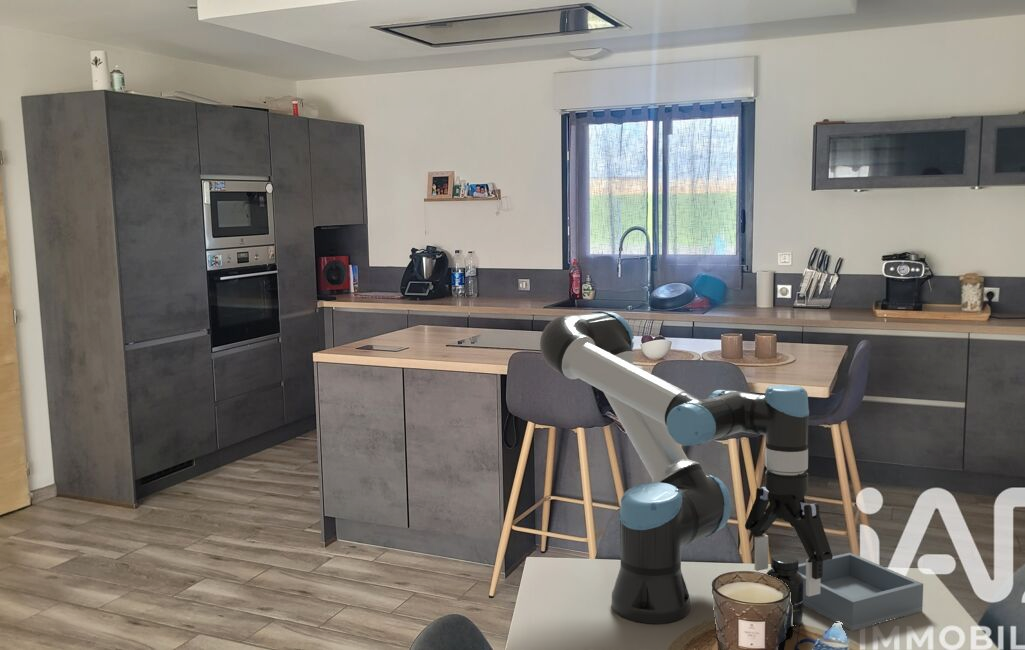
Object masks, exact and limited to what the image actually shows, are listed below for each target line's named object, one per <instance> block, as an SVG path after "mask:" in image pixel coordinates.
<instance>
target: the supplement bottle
mask: <svg viewBox="0 0 1025 650" xmlns="http://www.w3.org/2000/svg"><path fill="white" fill-rule="evenodd" d="M770 562H771V563H770V569H769V570H768V571H767V572H766V574H768V575H771V576H773V577H776V578H778V579H780V580H782V581H783V582H784V583H786V584H787V585H788V587H789V589H790V592H791V603H792V605H793V625H794V626H795V625H798V626H799V625H801V624H802V622H803V611H804V605H803V585H804V581H803V577H802V575H801V574H800V573H799V572H797V571H798V570H799V567H798V564H799V559H798V558H797V557H795V556H793V555H789V554H784V553H781V554H774V555H772V556H771V561H770Z"/></svg>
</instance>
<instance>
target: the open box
mask: <svg viewBox="0 0 1025 650" xmlns="http://www.w3.org/2000/svg"><path fill="white" fill-rule="evenodd" d="M832 556H833V558H832V559H830V560H826V561H823V576H822V578H820V594H817V595H813V596H807V595H806V562H802V563H798V567H799V570H798V571H797V572H799V573H800V574H801V575H802V577H803V581H804V585H803V607H804V606H805V607H806V608H808V609H810V610H811V611H814V612H816V613H817V614H819V615H821V616H823V617H825V618H828V620H831V621H832V622H834V623H836V622H835V621H840V622H842V623H843V626H842V627H843V628H845V629H848V630H850V631H852V632H854V631H857V630H861V628H862V629H864V627H865V628H869V627H872V626H874V625H873V624H875V623H879V622H883V621H886V620H890V619H894V618H897V619H899V618H898V617H901V618H903V617H902V616H904V617H907V616H906V615H908V616H911V614H912V615H915V614H919V613H922V612H923V604H924V603H923V602H924V601H923V600H924V599H923V598H924V583H922V582H921V581H920V582H919V581H918V580H915V579H913V578H911V577H909V576H906V575H903V574H901V573H899V572H896V571H894V570H893V569H890V568H887V567H885V566H882V565H880V564H877V563H875V562H873V561H870V560H868V559H866V558H864V557H861V556H859V555H856V554H854V553H852V552H847V553H841V554H838V555H832ZM894 620H895V619H894ZM890 621H891V620H890ZM883 623H884V622H883ZM879 624H880V623H879ZM871 625H872V626H871ZM868 626H869V627H868Z"/></svg>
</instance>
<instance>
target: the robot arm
mask: <svg viewBox="0 0 1025 650" xmlns="http://www.w3.org/2000/svg"><path fill="white" fill-rule="evenodd" d="M634 338H635V337H634V333H633V330H632V327H631V325H630V324H629V323H628V321H627V320H626V319H625V318H623V316H622V315H620V314H618V313H615V312H612V311H602V310H600V311H599V310H598V311H593V312H590V313H589V312H588V313H580V314H579V313H578V314H571V315H570V314H567V315H562V316H558V317H555V318H554V319H553V320H551V321H550V322H549V323H547V325H546V326H545V328H544V329H543V330H542V333H541V335H540V339H539V340H540V342H539V347H540V348H539V349H540V352H541V355H542V358H543V360H544V362H545V363H546V364H547V365H548V366H549V367H550V368H551V369H553V370H554V371H555V372H557V373H558V374H559V375H562V376H564V377H566V378H567V379H569V380H577V379H579V380H582V381H583V382H585V383H587V384H588V385H591V386H592V387H594V388H596V389H597V390H600V391H601V392H603V394H604V396H605V397H606V399H607V401H608V403H609V405H610V406H611V408H612V410H613V412H614V413H615V415H616V417H617V419H618V421H619V422H620V424H621V427H622V428H623V430H624V431H625V433H626V435H627V436H628V439H629V441H630V442H631V444H632V445H633V448H634V449H635V451H636V453H637V455H638V456H639V458H640V460H641V461H642V463H643V466H644V467H645V468H646V471H647V472H648V474H649V476H650V477H651V482H649V483H640V484H637V485H636V484H635V485H634V486H631V487H630V488H629V489H627V490H626V491H625V492H623V494H622V497H621V499H620V507H619V508H620V509H619V513H618V514H619V531H620V534H619V537H620V538H619V540H620V542H619V543H620V546H619V547H620V549H619V550H620V553H619V554H620V556H619V557H620V567H619V570H618V574H617V577H616V580H615V583H614V587H613V589H612V591H611V608H612V609H613V612H615V613H616V614H618V615H619V616H620V617H623V618H625V619H627V620H630V621H633V622H638V623H644V624H665V623H666V624H668V623H672V622H675V621H679V620H681V619H684V618H685V617H686V616H687V615H689V612H690V610H691V599H690V598H691V597H690V594H689V590H688V588H687V584H686V582H685V577H684V575H683V572H682V547H684V546H687V545H688V544H689V545H690V544H691V543H693V542H696V541H698V540H700V539H703V538H709V537H711V536H712V535H713V534H715V533H717V532H718V531H720V530H721V529H723V528H724V527H725V526H726V524H727V523H728V521H729V519H730V517H731V510H732V500H731V495H730V493H729V489H728V488H727V487H726V485H725V484H724V482H723V481H722V480H721V479H719V477H715V476H714V475H711V474H706V472H705V471H704V469H703V467H702V466H701V464H700V463H699V462H698V461H695V460H691V459H690V458H688V457H687V455H686V453H685V451H684V449H683V448H682V446H684V447H691V446H699V445H703V444H706V443H708V442H711V441H714V440H717V439H720V438H724V437H728V436H730V435H735V434H737V433H749V434H756V435H761V436H764V438H765V439H764V440H765V447H764V449H765V451H764V452H765V455H764V456H765V457H764V461H765V462H764V465H765V466H764V467H766V470H765V478H764V479H765V486H762V487H761V486H760V487H757V488H756V490H755V499H754V501H753V504H752V506H751V509H750V511H749V514H748V517H747V520H746V522H745V524H744V528H745V530H746V531H750V532H751V535H752V548H753V551H754V571H756V572H758V571H759V572H760V571H762V570H768V569H769V535H767V533H768V530H769V529H770V527H771V526H772V525H773V523H774V522H775V521H776V520H777V519H781V520H783V521H785V522H787V523H789V524H790V526H791V527H792V528H793V529H794V530H795V532H796V534H797V536H798V538H799V540H800V543H801V544H802V545H803V548H804V550H805V553H806V554H807V556H808V558H809V559H806V560H805V563H806V595H807V596H813V595H817V594H820V578H822V576H823V561H826V560H830V559H832V558H833V556H834V555H833V553H832V550H831V547H830V544H829V541H828V538H827V534H826V532H825V529H824V526H823V522H822V519H821V517H820V516H821V515H820V506H819V503H807V502H806V499H805V496H806V494H807V492H808V490H809V473H808V472H807V470H808V468H809V415H810V409H809V397H808V395H809V394H808V392H807V390H806V389H805V388H803V387H801V386H798V385H792V384H791V385H790V384H789V385H785V384H776V385H770V386H768V387H767V388H766V389H765V394H758V393H751V392H744V391H738V390H734V389H728V390H727V389H717V390H714V391H713V392H712V393H711V395H709V396H708V397H707V398H704V399H703V398H699V396H696V395H693V394H692V393H690V392H687V391H686V390H684V389H681V388H680V387H678V386H676V385H674V384H672V383H670V382H668V381H666V380H665V379H662V378H660V377H659V376H656V375H654V374H652V373H651V372H648V371H646V370H645V369H642V368H640V367H639V366H637V365H634V360H635V355H636V354H635V352H634V350H633V348H634V344H635V343H634V341H633V340H634Z"/></svg>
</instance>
